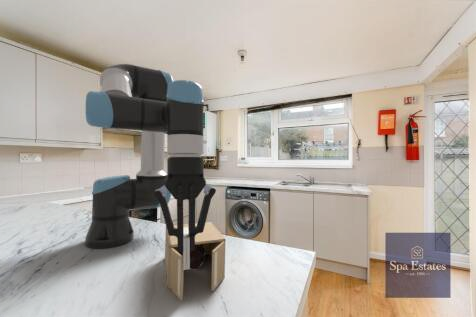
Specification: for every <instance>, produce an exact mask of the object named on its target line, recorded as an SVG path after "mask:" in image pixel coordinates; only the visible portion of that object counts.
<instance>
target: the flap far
mask: <svg viewBox="0 0 476 317" xmlns="http://www.w3.org/2000/svg"><path fill="white" fill-rule="evenodd" d="M223 279H224V242H222V243H221V244H220V245H219V246H217V247H216V248H215V249H214V250H213V251H212V258H211V282H210V283H211V284H210V285H211V289H210V290H211V291H212V292H214V291H215V290H216V288H217V287H218V286H219V284H220V283H221V282H222V280H223Z"/></svg>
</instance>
